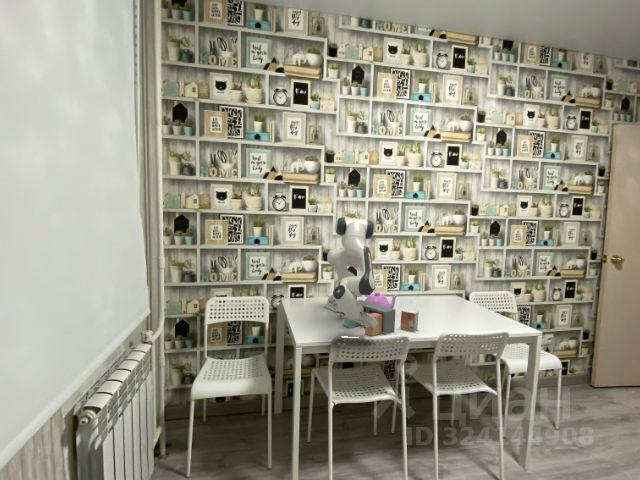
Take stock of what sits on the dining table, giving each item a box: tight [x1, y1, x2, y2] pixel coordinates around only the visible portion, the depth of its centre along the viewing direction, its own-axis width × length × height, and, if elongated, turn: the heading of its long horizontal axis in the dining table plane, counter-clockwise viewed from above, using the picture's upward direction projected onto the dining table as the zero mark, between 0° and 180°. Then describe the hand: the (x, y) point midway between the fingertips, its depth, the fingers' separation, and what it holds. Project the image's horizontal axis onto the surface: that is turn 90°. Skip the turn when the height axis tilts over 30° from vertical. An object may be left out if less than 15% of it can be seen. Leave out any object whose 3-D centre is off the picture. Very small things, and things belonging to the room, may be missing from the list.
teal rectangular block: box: [343, 317, 362, 329], centre depth 226 cm, size 9×5×10 cm, turn 132°
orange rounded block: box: [364, 312, 384, 337], centre depth 214 cm, size 9×5×10 cm, turn 132°
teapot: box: [364, 291, 399, 309], centre depth 251 cm, size 22×22×14 cm
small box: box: [399, 308, 420, 333], centre depth 223 cm, size 8×6×10 cm
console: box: [357, 299, 397, 335], centre depth 225 cm, size 8×25×12 cm, turn 42°
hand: (366, 325), depth 210 cm, fingers closed
